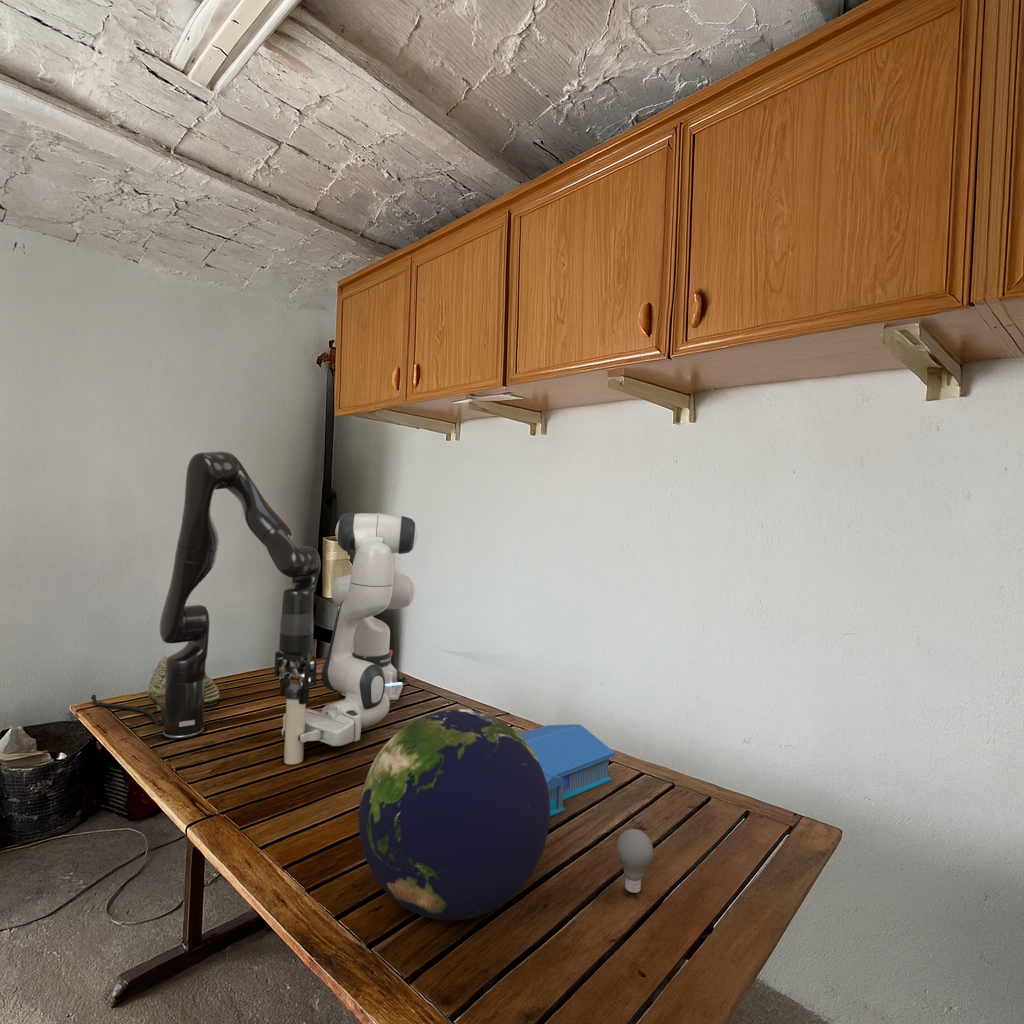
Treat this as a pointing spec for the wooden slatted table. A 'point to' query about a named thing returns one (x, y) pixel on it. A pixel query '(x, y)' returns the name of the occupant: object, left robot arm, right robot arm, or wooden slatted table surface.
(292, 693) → the lid
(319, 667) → the anatomical model
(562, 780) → the model building
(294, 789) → the wooden slatted table surface
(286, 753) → the beige tall cylinder
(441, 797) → the globe
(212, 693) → the fossil
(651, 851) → the light bulb
